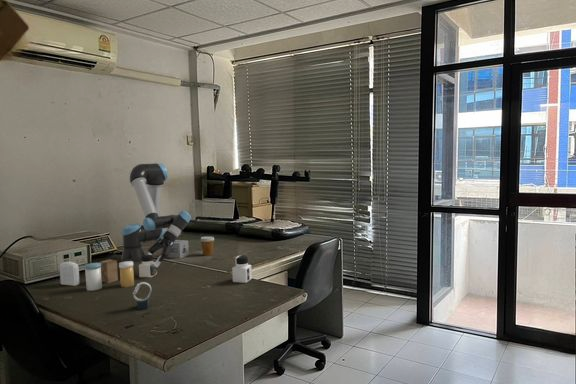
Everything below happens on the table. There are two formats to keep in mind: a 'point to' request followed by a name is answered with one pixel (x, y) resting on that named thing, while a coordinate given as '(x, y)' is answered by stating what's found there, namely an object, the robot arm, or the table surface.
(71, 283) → the photo printer
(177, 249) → the icon cube
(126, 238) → the robot arm
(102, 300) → the table surface
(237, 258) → the container
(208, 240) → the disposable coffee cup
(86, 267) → the white tub
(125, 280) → the amber jar
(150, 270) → the medicine bottle
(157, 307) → the table surface
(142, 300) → the watch
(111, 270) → the walnut block
